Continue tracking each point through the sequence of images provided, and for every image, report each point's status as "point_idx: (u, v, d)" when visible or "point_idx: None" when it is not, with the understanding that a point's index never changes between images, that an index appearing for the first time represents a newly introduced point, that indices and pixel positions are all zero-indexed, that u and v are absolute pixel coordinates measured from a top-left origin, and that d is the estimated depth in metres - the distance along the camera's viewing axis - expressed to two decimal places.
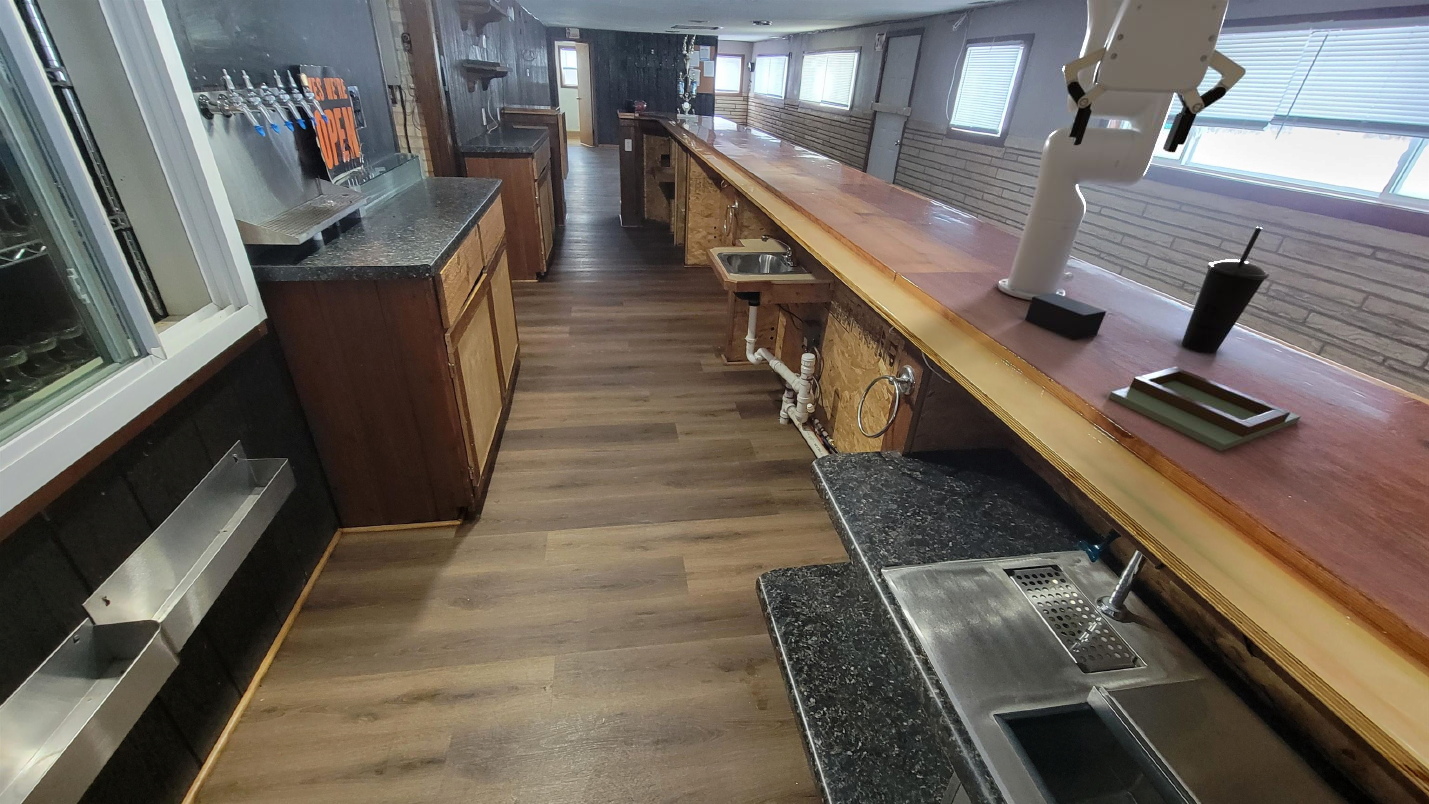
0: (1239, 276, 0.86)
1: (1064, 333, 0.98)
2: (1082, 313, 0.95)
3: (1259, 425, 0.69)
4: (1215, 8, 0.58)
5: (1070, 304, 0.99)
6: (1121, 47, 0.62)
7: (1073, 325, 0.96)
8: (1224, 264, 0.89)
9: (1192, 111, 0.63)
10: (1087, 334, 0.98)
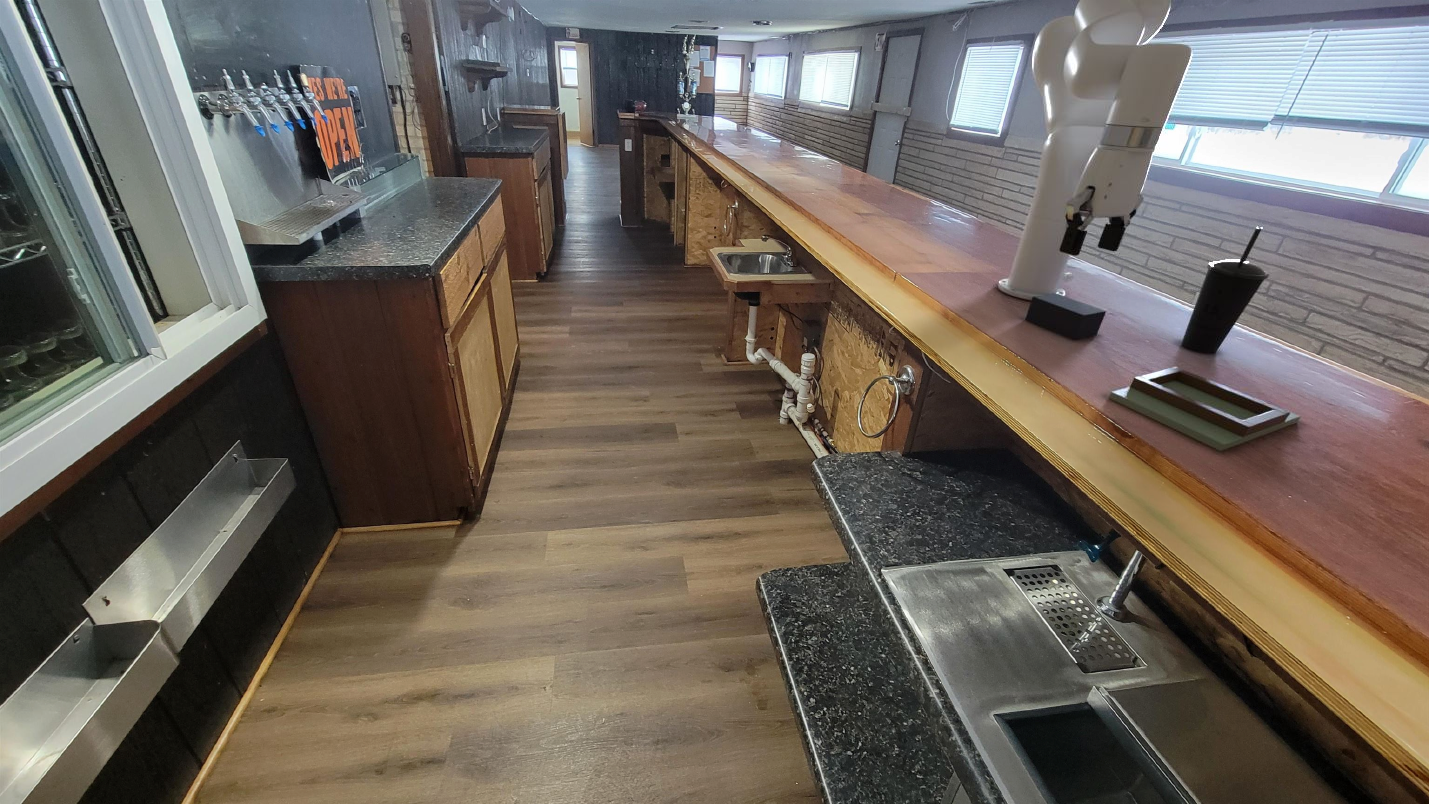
0: (1239, 276, 0.86)
1: (1064, 333, 0.98)
2: (1082, 313, 0.95)
3: (1259, 425, 0.69)
4: (1147, 165, 0.87)
5: (1070, 304, 0.99)
6: (1109, 191, 0.86)
7: (1073, 325, 0.96)
8: (1224, 264, 0.89)
9: (1125, 225, 0.93)
10: (1087, 334, 0.98)
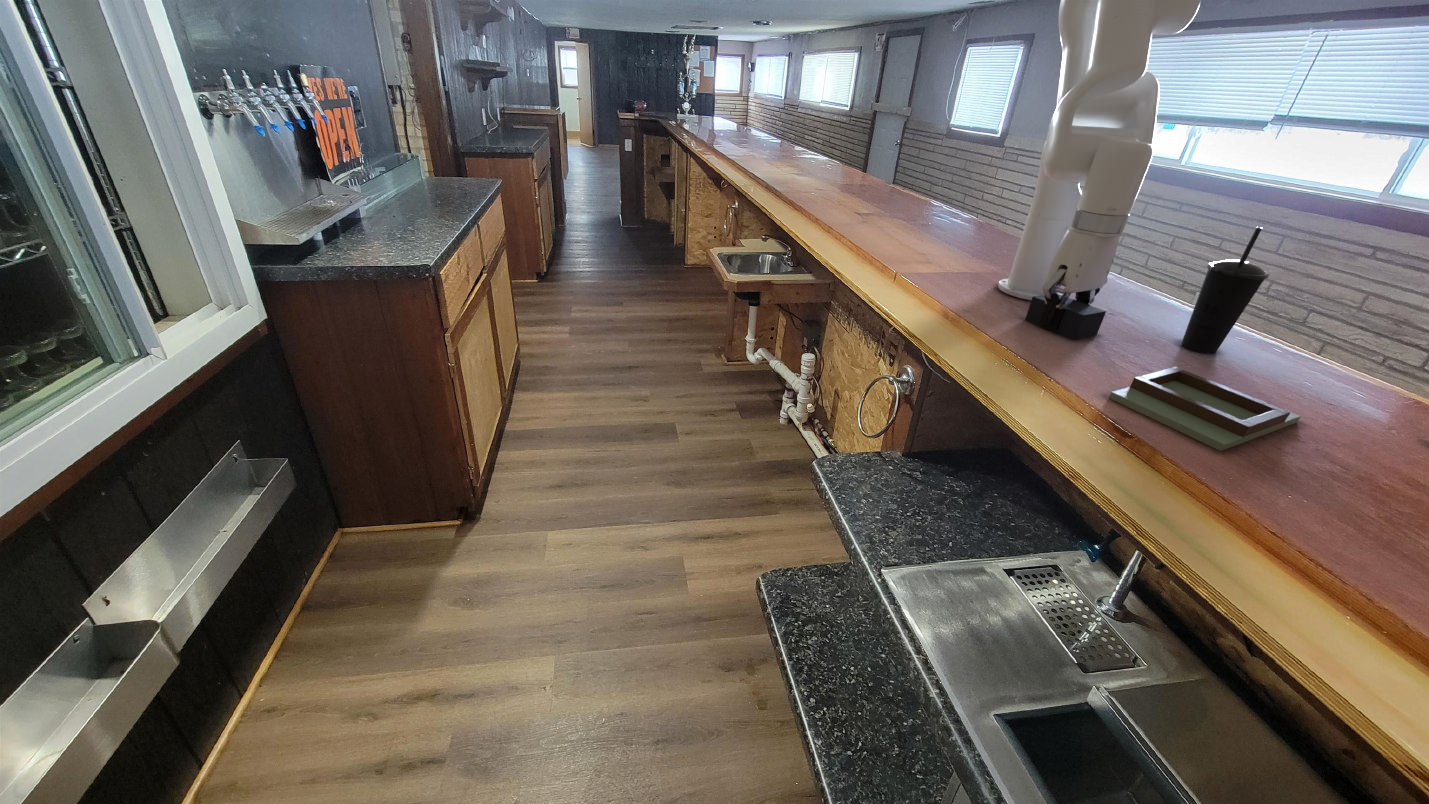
0: (1239, 276, 0.86)
1: (1064, 333, 0.98)
2: (1082, 313, 0.95)
3: (1259, 425, 0.69)
4: (1116, 246, 0.94)
5: (1070, 304, 0.99)
6: (1080, 270, 0.93)
7: (1073, 325, 0.96)
8: (1224, 264, 0.89)
9: (1089, 302, 1.00)
10: (1087, 334, 0.98)
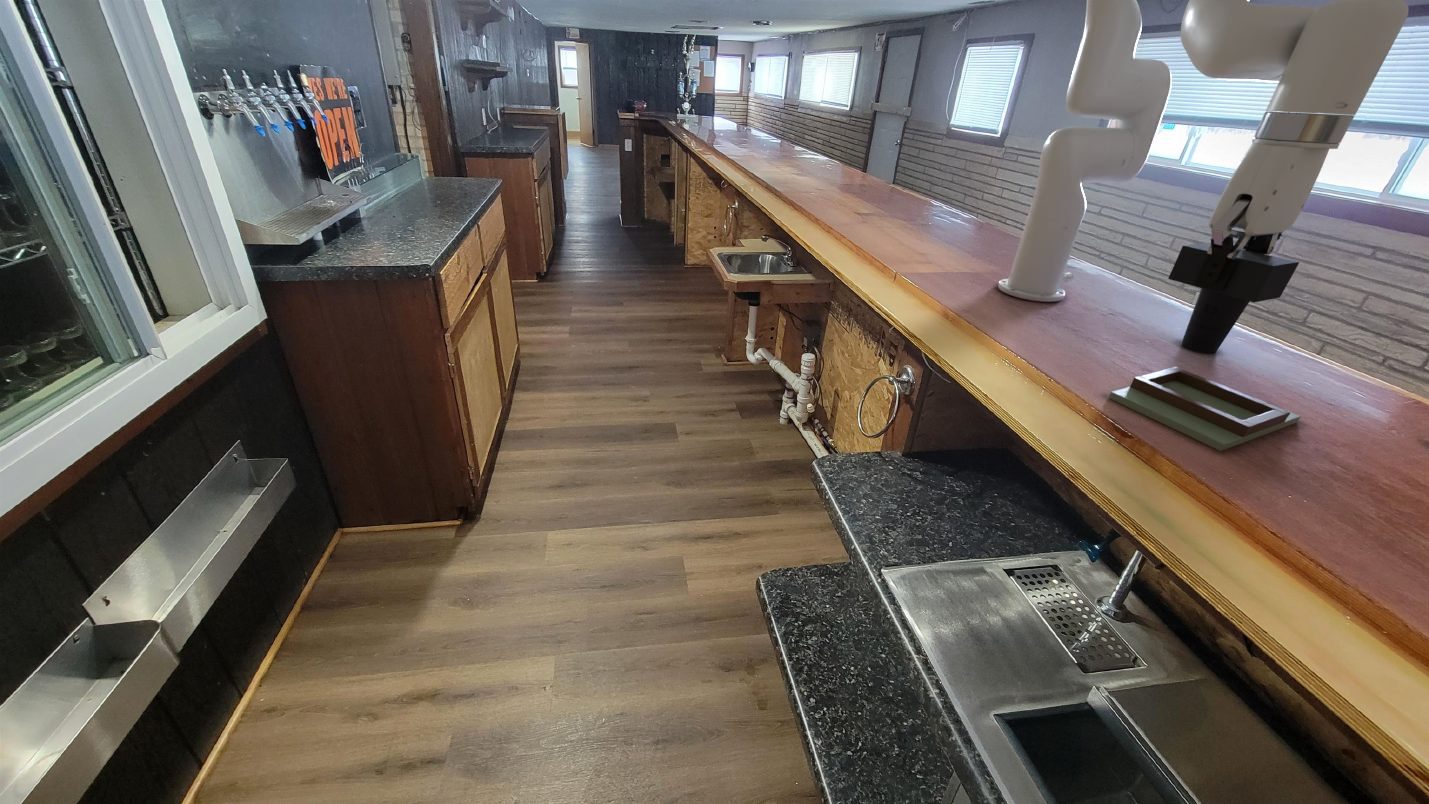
0: None
1: (1236, 294, 0.70)
2: (1270, 264, 0.67)
3: (1259, 425, 0.69)
4: (1320, 167, 0.66)
5: (1242, 254, 0.71)
6: (1272, 201, 0.64)
7: (1253, 282, 0.68)
8: None
9: (1267, 252, 0.71)
10: (1270, 295, 0.69)
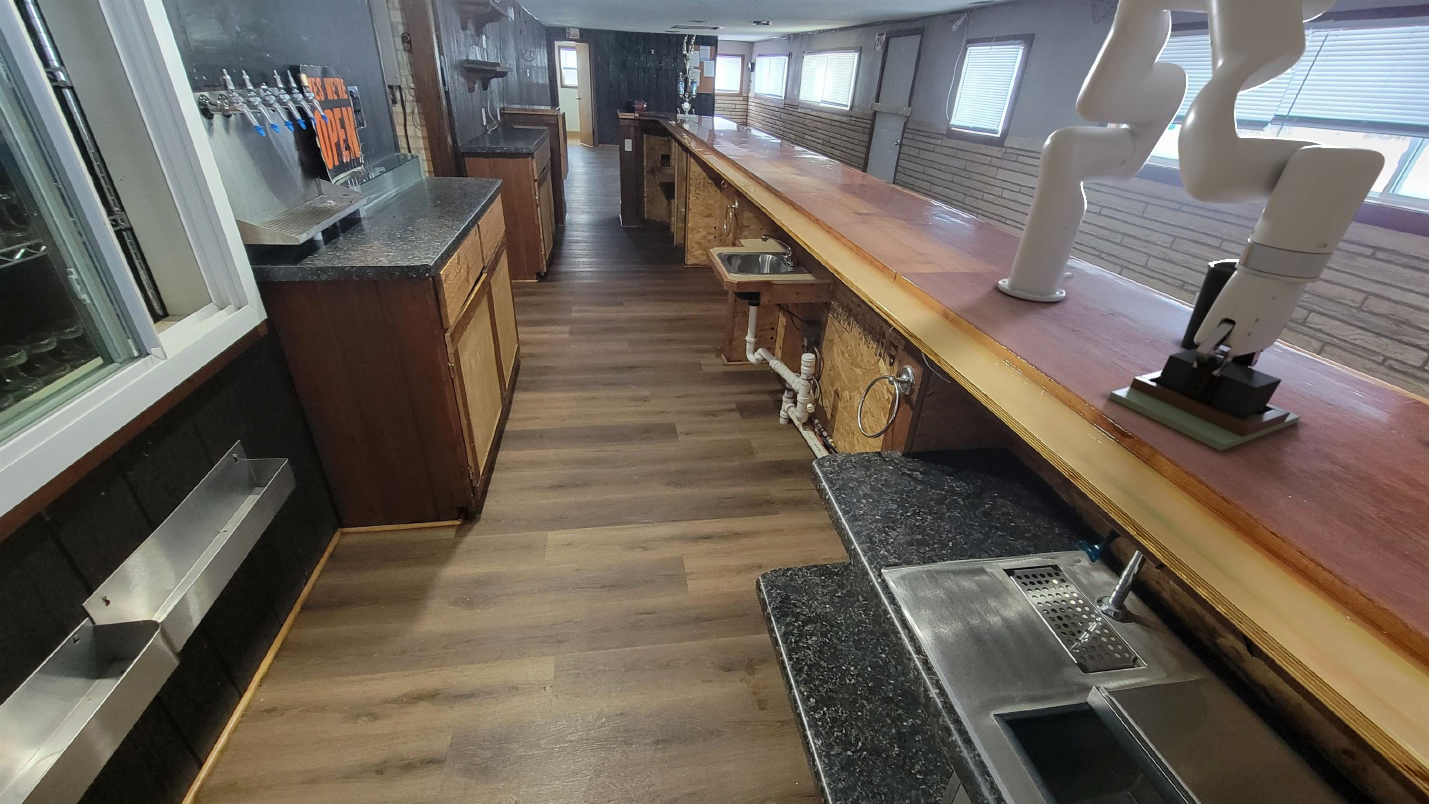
0: None
1: (1221, 408, 0.72)
2: (1252, 384, 0.69)
3: (1259, 425, 0.69)
4: (1302, 292, 0.68)
5: (1226, 368, 0.73)
6: (1255, 327, 0.67)
7: (1237, 399, 0.70)
8: (1224, 264, 0.89)
9: (1250, 365, 0.74)
10: (1254, 410, 0.71)
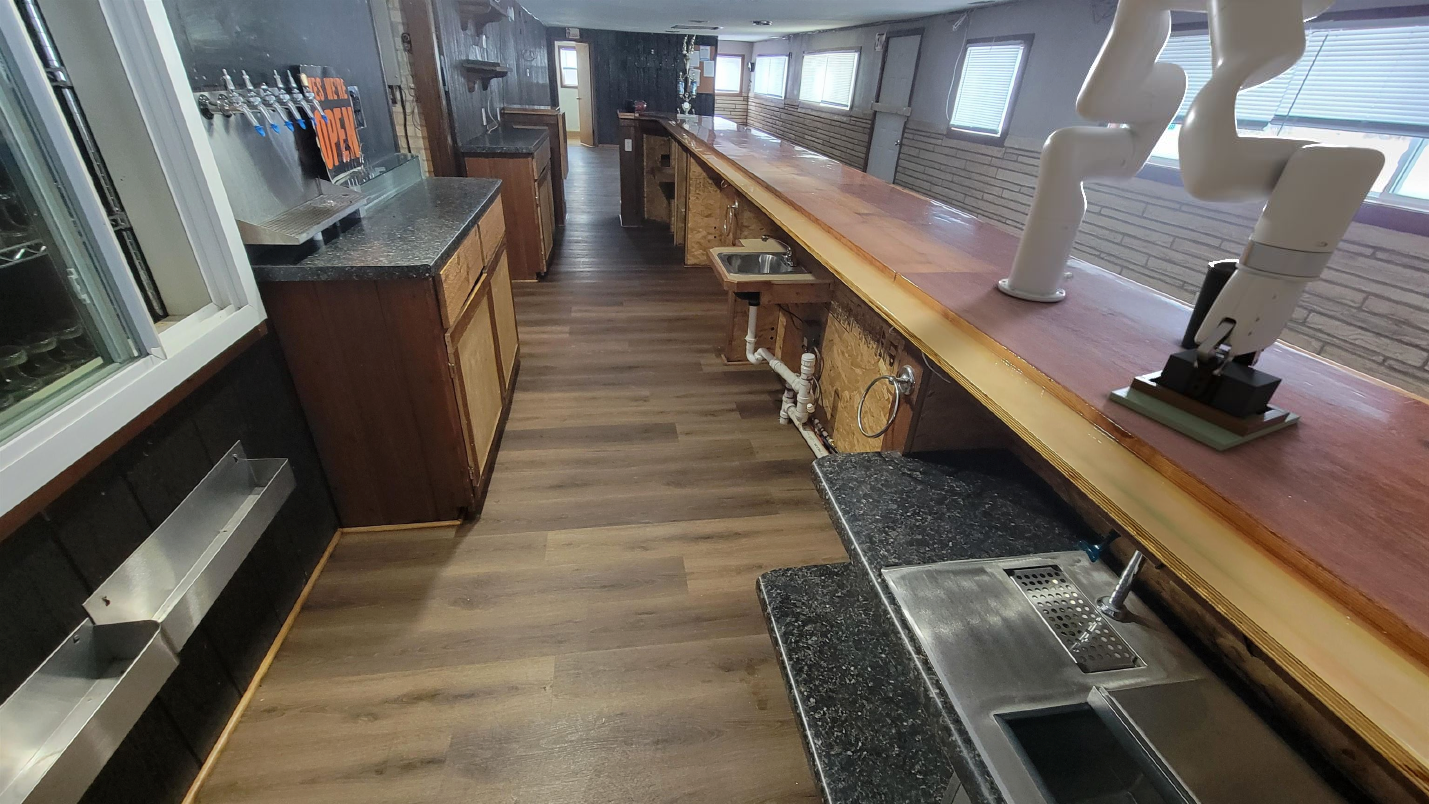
0: None
1: (1222, 408, 0.72)
2: (1253, 384, 0.69)
3: (1259, 425, 0.69)
4: (1302, 291, 0.68)
5: (1227, 367, 0.73)
6: (1255, 327, 0.67)
7: (1237, 399, 0.70)
8: (1224, 264, 0.89)
9: (1251, 364, 0.73)
10: (1254, 409, 0.71)
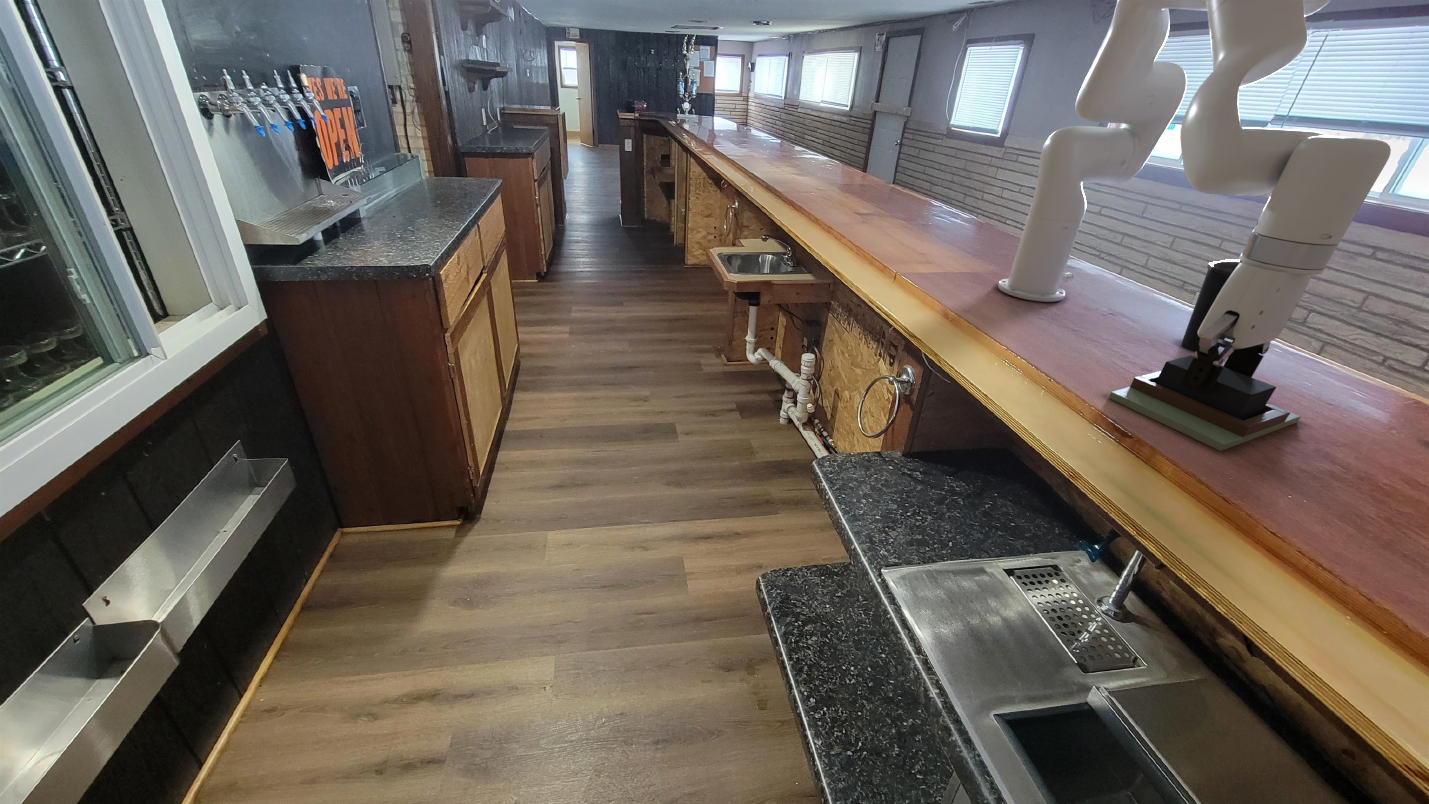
0: None
1: None
2: (1247, 392, 0.69)
3: (1259, 425, 0.69)
4: (1306, 284, 0.67)
5: (1222, 375, 0.73)
6: (1259, 320, 0.66)
7: (1232, 406, 0.71)
8: (1224, 264, 0.89)
9: (1262, 352, 0.73)
10: (1249, 416, 0.72)
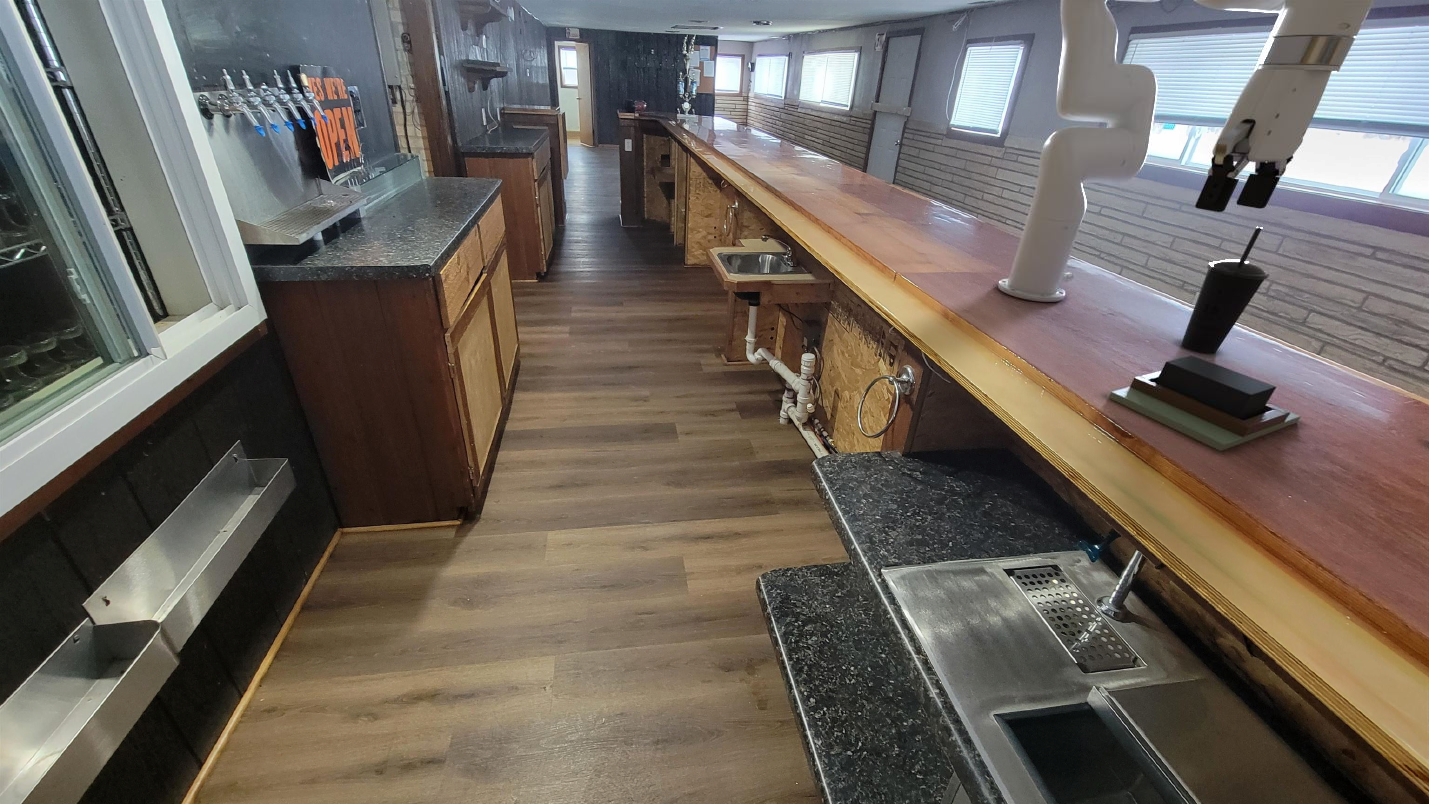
0: (1239, 276, 0.86)
1: None
2: (1247, 392, 0.69)
3: (1259, 425, 0.69)
4: (1322, 93, 0.67)
5: (1222, 375, 0.73)
6: (1275, 125, 0.66)
7: (1232, 406, 0.71)
8: (1224, 264, 0.89)
9: (1278, 174, 0.73)
10: (1249, 416, 0.72)
